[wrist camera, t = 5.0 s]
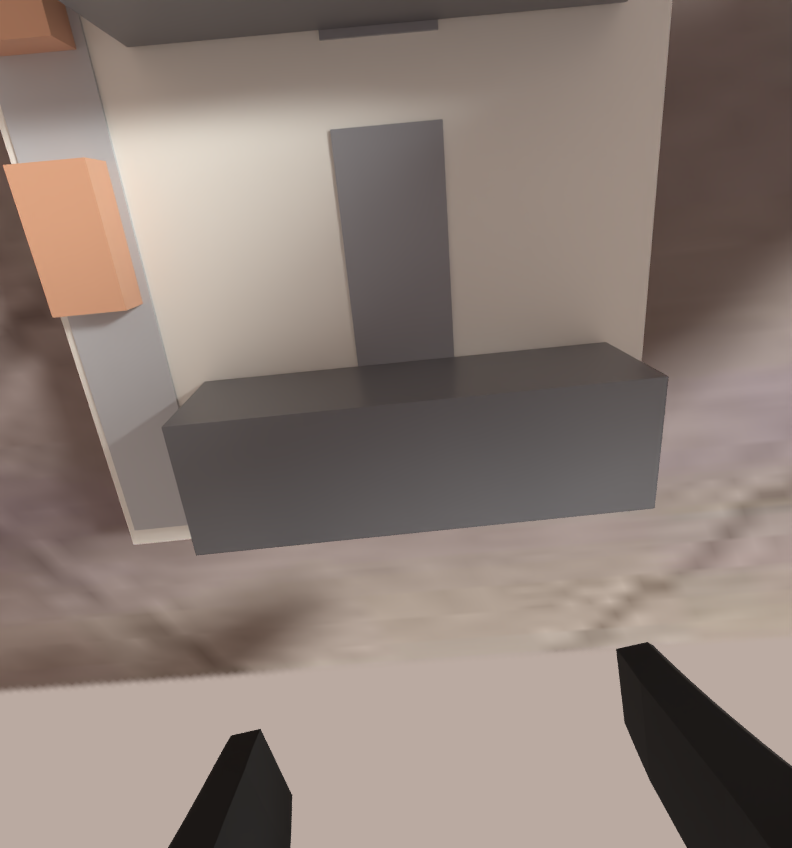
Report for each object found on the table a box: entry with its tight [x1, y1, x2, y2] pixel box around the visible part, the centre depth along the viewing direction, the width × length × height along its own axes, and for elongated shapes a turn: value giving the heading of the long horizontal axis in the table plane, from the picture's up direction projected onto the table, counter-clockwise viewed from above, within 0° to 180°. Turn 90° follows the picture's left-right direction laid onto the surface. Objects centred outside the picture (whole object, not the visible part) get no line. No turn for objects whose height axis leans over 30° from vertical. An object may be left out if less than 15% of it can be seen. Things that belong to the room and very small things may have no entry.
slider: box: [161, 342, 668, 555], centre depth 12 cm, size 10×3×3 cm, turn 95°
